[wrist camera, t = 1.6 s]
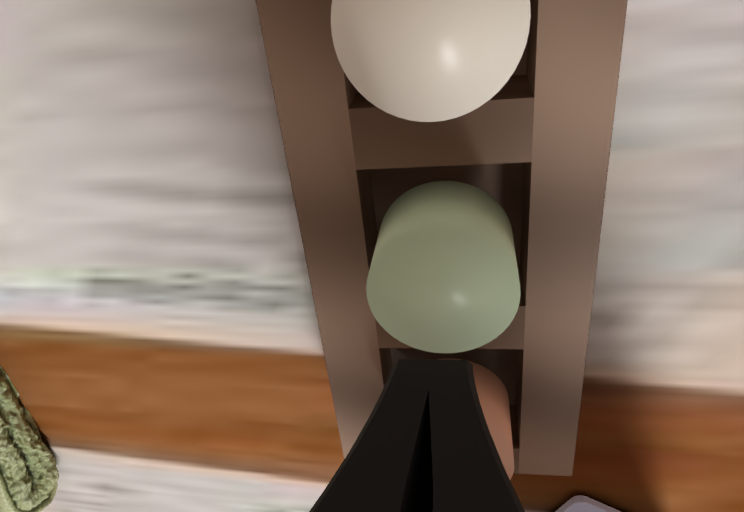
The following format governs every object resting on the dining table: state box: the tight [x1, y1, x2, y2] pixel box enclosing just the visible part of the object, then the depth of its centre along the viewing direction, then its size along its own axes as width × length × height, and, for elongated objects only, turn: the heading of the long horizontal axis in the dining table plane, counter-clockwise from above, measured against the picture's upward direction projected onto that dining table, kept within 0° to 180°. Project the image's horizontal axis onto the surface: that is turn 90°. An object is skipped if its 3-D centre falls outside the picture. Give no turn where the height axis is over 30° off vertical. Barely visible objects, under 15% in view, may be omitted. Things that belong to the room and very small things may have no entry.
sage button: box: [366, 181, 521, 353], centre depth 15 cm, size 4×4×2 cm
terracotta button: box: [437, 358, 514, 480], centre depth 18 cm, size 4×4×2 cm
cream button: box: [331, 0, 531, 122], centre depth 11 cm, size 4×4×2 cm
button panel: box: [256, 0, 628, 476], centre depth 17 cm, size 19×8×3 cm, turn 6°
